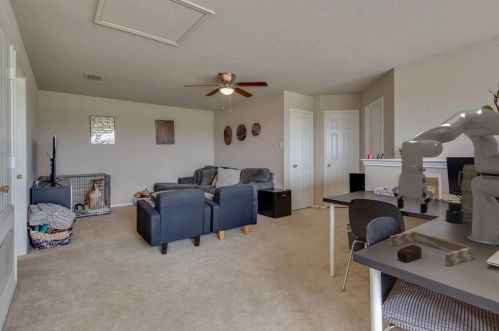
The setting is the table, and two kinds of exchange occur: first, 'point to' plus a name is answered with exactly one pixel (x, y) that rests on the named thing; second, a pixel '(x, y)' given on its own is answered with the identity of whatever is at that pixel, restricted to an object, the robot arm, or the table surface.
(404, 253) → the brick
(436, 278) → the table surface
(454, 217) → the ink bottle
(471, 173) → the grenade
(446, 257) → the beige u-shaped frame
